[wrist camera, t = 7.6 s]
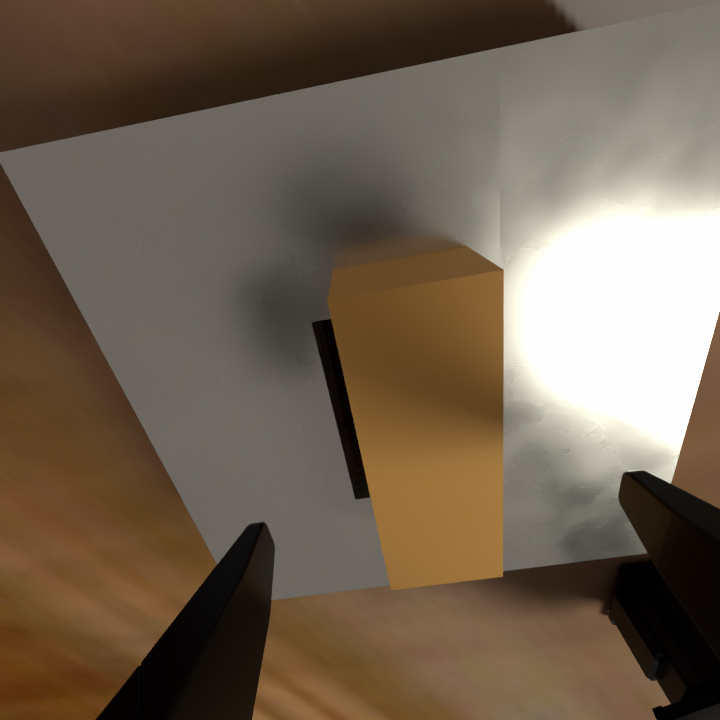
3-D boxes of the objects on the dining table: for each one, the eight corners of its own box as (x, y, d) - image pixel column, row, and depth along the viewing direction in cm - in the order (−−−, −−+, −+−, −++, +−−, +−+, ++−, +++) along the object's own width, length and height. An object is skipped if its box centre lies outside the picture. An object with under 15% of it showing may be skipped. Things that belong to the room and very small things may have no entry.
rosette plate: (651, 48, 13) (810, -18, 8) (590, 475, 22) (651, 552, 17) (108, 159, 14) (-5, 153, 10) (260, 520, 23) (238, 604, 19)
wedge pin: (438, 228, 14) (503, 269, 8) (454, 446, 19) (502, 576, 13) (337, 246, 15) (326, 300, 8) (378, 457, 20) (391, 590, 13)
